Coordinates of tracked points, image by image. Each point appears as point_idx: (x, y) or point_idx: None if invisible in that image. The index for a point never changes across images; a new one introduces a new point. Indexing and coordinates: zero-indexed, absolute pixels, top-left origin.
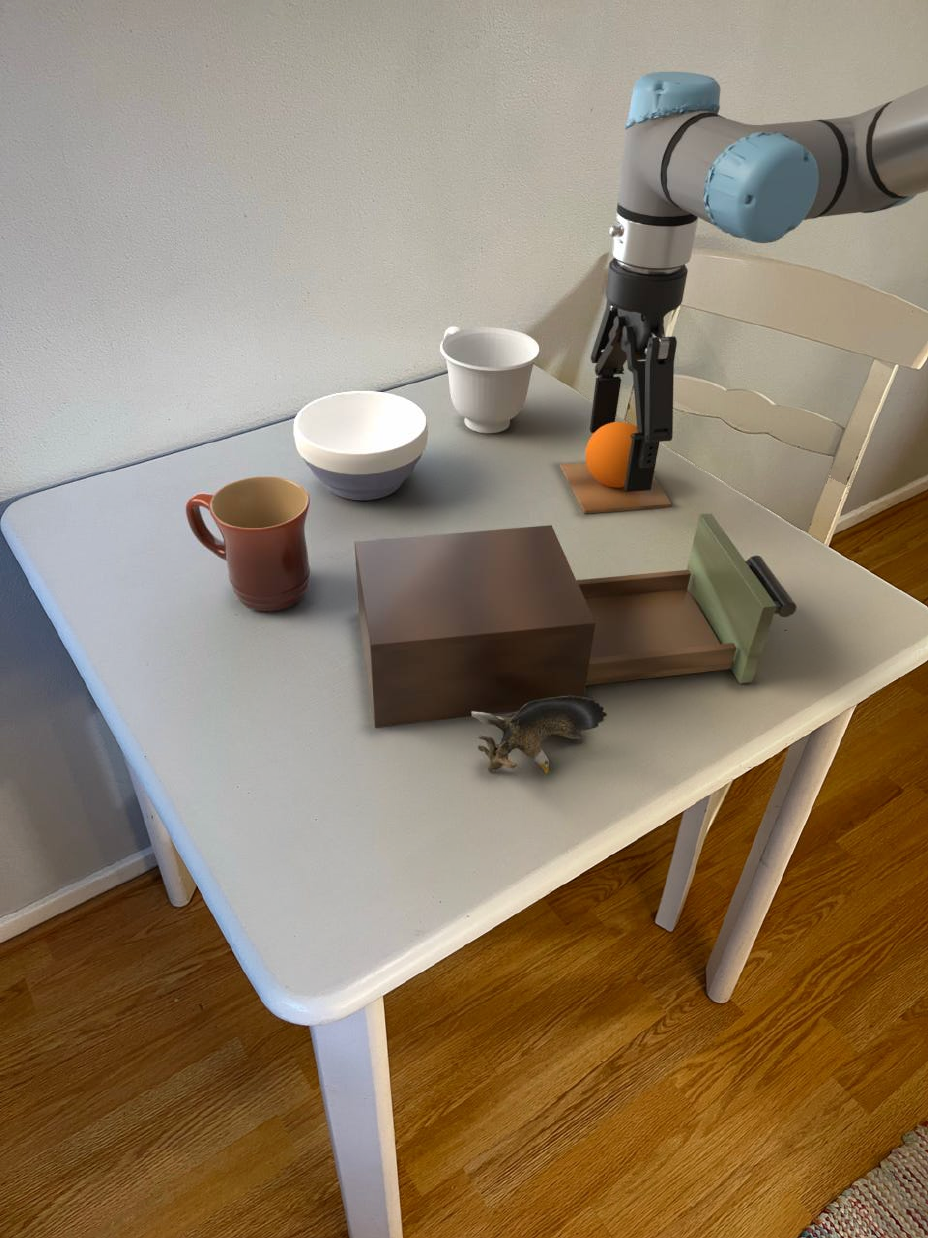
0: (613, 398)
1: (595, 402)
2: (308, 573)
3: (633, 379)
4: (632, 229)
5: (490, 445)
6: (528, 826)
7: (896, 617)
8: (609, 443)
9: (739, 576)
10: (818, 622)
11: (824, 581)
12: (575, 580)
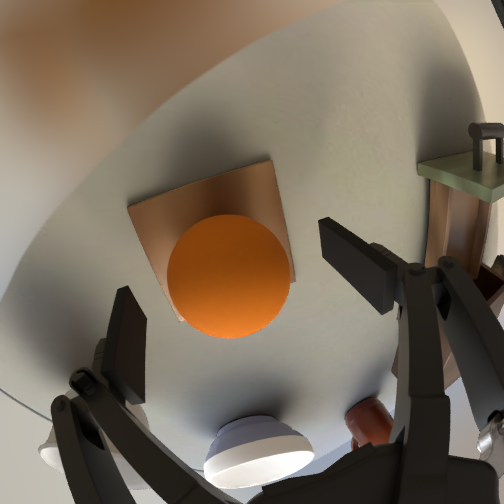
0: (124, 341)
1: (144, 362)
2: (374, 406)
3: (395, 409)
4: None
5: (152, 384)
6: (489, 266)
7: (425, 3)
8: (276, 315)
9: None
10: (441, 66)
11: (398, 25)
12: (494, 301)
